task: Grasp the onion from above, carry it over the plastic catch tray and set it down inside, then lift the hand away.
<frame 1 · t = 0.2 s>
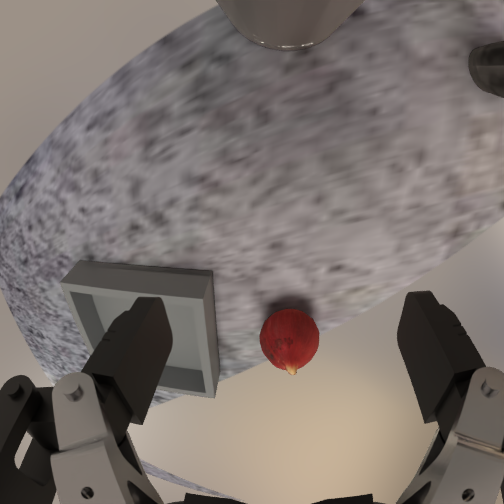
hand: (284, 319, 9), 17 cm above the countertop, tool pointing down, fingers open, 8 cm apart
onion: (289, 313, 32), on the countertop
catch tray: (151, 321, 34), on the countertop
beverage cup: (484, 70, 17), on the countertop
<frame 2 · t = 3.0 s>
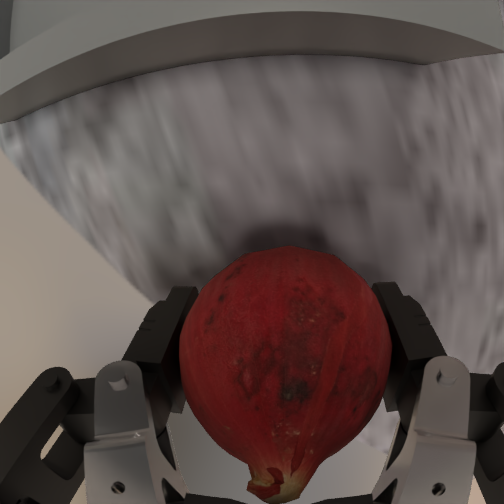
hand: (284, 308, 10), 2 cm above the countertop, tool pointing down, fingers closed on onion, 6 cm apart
onion: (284, 279, 12), on the countertop, touching gripper
when the fingers open (4 cm above the countertop, at t = 9.3 s): onion drops 1 cm, resting on catch tray.
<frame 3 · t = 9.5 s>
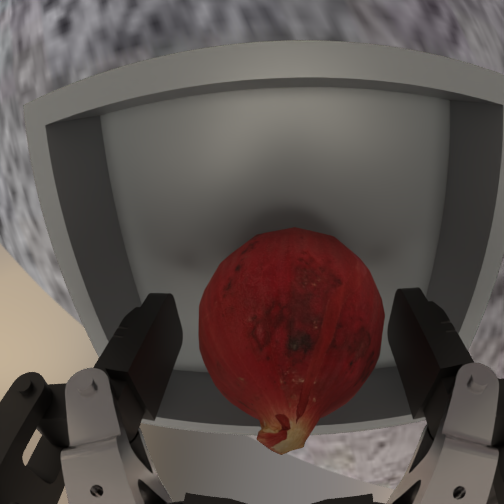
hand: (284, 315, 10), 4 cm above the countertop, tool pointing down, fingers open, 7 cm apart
onion: (290, 263, 13), point 1 cm above the countertop, touching catch tray
catch tray: (282, 252, 14), on the countertop
beverage cup: (490, 448, 25), on the countertop
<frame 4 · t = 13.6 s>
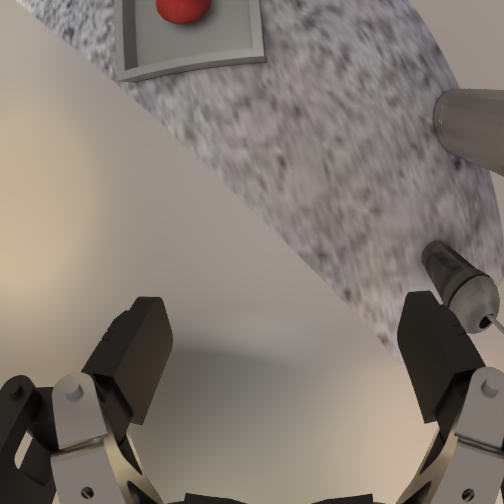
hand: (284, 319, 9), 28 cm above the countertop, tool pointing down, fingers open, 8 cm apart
onion: (193, 10, 26), point 1 cm above the countertop, touching catch tray
catch tray: (192, 11, 26), on the countertop
beverage cup: (434, 254, 38), on the countertop
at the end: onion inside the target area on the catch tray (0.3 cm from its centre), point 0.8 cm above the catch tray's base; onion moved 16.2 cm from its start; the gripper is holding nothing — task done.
